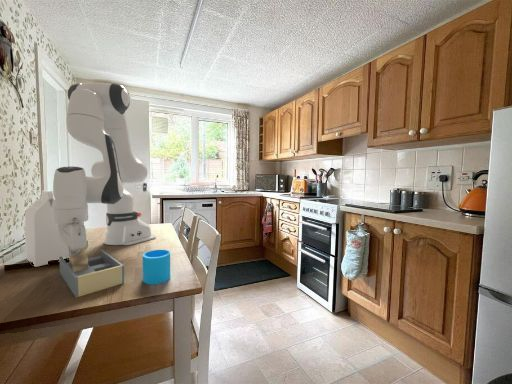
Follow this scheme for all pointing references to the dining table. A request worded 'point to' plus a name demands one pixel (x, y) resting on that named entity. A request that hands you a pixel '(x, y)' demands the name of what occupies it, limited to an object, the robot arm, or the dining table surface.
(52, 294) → the dining table surface
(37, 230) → the milk
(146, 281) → the mug
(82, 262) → the block
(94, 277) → the box
